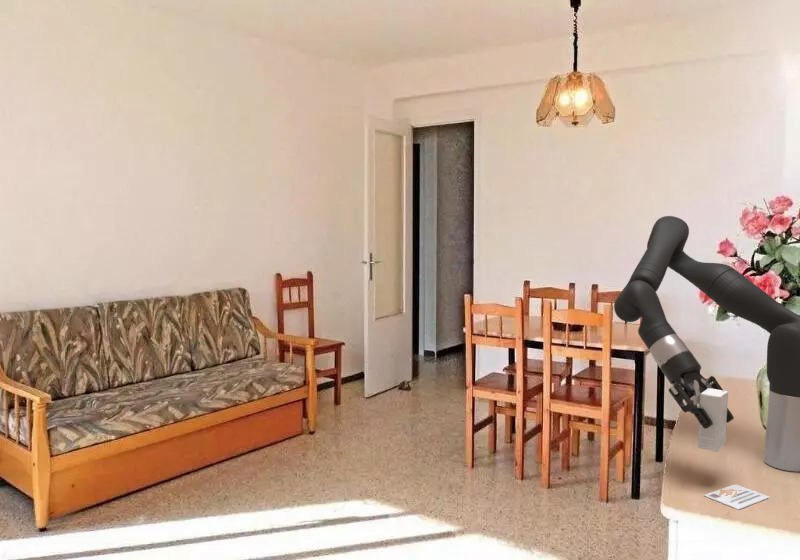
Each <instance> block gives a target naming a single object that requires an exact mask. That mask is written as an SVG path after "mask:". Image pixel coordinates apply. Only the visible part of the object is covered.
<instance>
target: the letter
mask: <svg viewBox="0 0 800 560" xmlns="http://www.w3.org/2000/svg"><path fill="white" fill-rule="evenodd" d="M721 489H722V490H729V489H734V490H737V496H734V497H732V496H733V495H734V494H735V492H736V491H733V493H732V495H728V496H725V495H726V493H724V494H722V495H721V496H719V493H720V490H721ZM738 490H742V491H738ZM705 496H706V498H707V497H708V499H710V498H711V499H710V500H712V499H713V501H715V502H717V503H720V504H723V505H725V506H728V507H730V508H733V509H735V510H737V511H740V510H742V509H745V508H747V507H750V506H752V505H756V504H757V503H760V502H761V503H762V502H763V501H765V500H768V499H770V498H771V497H770V496H768V495H765V494H763V493H760V492H757V491H754V490H753V489H749V488H747V487H743V486H741V485H739V484H732V485H728V486H726V487H722V488H720V489H718V490H714V491H712V492H709V493H706V494H704V495H703V497H705ZM767 498H768V499H767Z"/></svg>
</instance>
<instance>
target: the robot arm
mask: <svg viewBox="0 0 800 560" xmlns="http://www.w3.org/2000/svg"><path fill="white" fill-rule="evenodd" d="M689 235H690V227H689V225H688V224H687V222H686V221H685V220H683V219H681V218H680V217H676V216H673V215H667V216H666V215H665V216H661V217H659V218H658V219H657V220H656V221H655V222H654V224H653V226H652V228H651V232H650V235H649V238H648V240H647V245H646V250H645V252H644V253H643V255H642V257H641V258H640V260H639V262H638V263H637V265H636V267H635V268H634V271H633V272H632V274H631V276H630V278H629V280H628V282H627V284H626V285H625V286H624V287H623V289H622V290H621V292H620V293H619V295H618V296H617V297H616V299H615V301H614V304H613V310H614V312H615V315H616V316H617V318H619V320H621V321H623V322H626V323H633V322H634V323H635V322H636V321H638V320H640V319H641V323H640V324H639V327H638V330H637V333H638V335H639V337H640V338H641V340H642V342H643V343H644V345H645V346H646V348H647V349H648V350H649V352H650V353H651V356H652V358H653V360H654V361H655V363H656V364H657V366H658V367H659V368H660V370H661V372H662V373H663V375H664V376H665V377H666V379H667V380H668V382H669V383H670V384H671V385H672V386H671V387H669V388H668V393H669V394H670V395H671V396H672V398H673V399H674V400H675V402H676V404H677V405H678V406H679V408H680V409H681V411H682V412H683V413H685V414H686V413H690V414H692V415H694V417H695V418H696V420H697V421H698V424H699V423H700V424H701V425H702V426H703V428H705V429H706V428H709V427H710V426H711V425H713V422H712V420H711V419H710V417H709V416H708V415H707V413H706V412H705V410H704V409H703V408H702V409H701V404H700V394H701V393H702V392H704V391H705V390H706V389H709V388H711V389H717V390H723V391H724V389H723V388H722V386H721V384H719V382H718V380H717V379H716V377H715V376H714V375H710V376H709V377H707V378H705V377H704V376H703V375H702V374H701V370H702V366H701V363H700V362H699V361H698V360H697V359H696V357H695V356H694V355H693V352H691V349H689V348H688V346H687V345H686V343H685V342H684V341H683V339H681V338H680V337H679V335H678V334H677V333H676V331H675V330H674V328H673V327H672V325H671V324H670V323H669V322H668V319H667V317H666V314H665V312H664V308H663V306H662V304H661V300H660V298H659V295H658V293H657V291H658V290H659V288H660V286H661V284H662V282H663V280H664V277H665V276H666V273H667V270H668V269H671V270H672V271H674V272H676V274H679V275H680V276H682V277H683V278H684V279H685V280H687V281H688V282H689V283H691V285H693V286H695V287H696V288H697V289H699V290H700V291H701V292H702V293H703V294H705V295H706V296H707V297H708V298H709V299H710V300H711V301H713V302H714V303H715V304H716V305H718V306H719V307H720V308H721V309H723V310H724V311H726V312H728V313H730V314H733V315H734V316H736V317H739V318H741V319H743V320H746V321H748V322H750V323H752V324H754V325H756V326H758V327H760V328H762V329H764V330H765V331H766V332H767V333H768V334H769V336H768V341H767V345H766V346H767V348H766V377H767V379H768V380H767V381H768V382H769V386H768V387H769V388H768V401H767V412H766V413H767V415H766V428H765V429H766V430H765V440H764V451H763V461H764V463H765V464H767V465H768V466H770V467H772V468H775V469H779V470H783V471H787V472H788V471H789V472H796V473H797V472H800V314H797V313H795V312H794V311H792V310H790V309H788V308H787V307H785V306H784V305H782V303H779V302H778V300H776V299H774V297H772V296H771V295H770V294H768V293H767V292H765V290H763V289H761V288H760V287H759V286H757V285H756V284H755V283H753V282H752V281H751V280H750V279H749V278H747V277H746V276H745V275H743V274H742V273H741V272H739V271H738V270H737V269H735V268H734V267H733V266H730V265H728V264H725V263H719V262H705V261H704V262H702V261H698V260H696V259H695V258H693V257H691V256H689V255H688V254H687V253H686V252H685V251H684V249H685V245H686V243H687V241H688V237H689ZM683 401H684V402H685V403H684V402H683ZM733 420H734V415H733V413H732V412H731V411H730V409H729V408H728V407H727V422H726V424H728V423H730V422H731V421H733Z"/></svg>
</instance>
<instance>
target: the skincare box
mask: <svg viewBox="0 0 800 560" xmlns="http://www.w3.org/2000/svg"><path fill="white" fill-rule="evenodd" d="M728 401H729V391H727V390H724V389H723V390H717V389H711V388H709V389H706V390H705V391H704V392H702V393H701V394H700V404H701V409H702V408H703V409H704V410H705V412H706V413H707V415H708V416H709V417H710V419H711V420H712V422H713V425H711V426H710V427H709V428H706V429H705V428H703V426H702V425H701V424H700V423H699V422H698V432H697V433H698V434H697V435H698V436H697V448H698V449H701V450H708V451H712V452H716V453H717V452H719V451H720V450H721V449H722V448H723V447H724V446H726V439H727V423H726V422H727V408H728Z"/></svg>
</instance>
